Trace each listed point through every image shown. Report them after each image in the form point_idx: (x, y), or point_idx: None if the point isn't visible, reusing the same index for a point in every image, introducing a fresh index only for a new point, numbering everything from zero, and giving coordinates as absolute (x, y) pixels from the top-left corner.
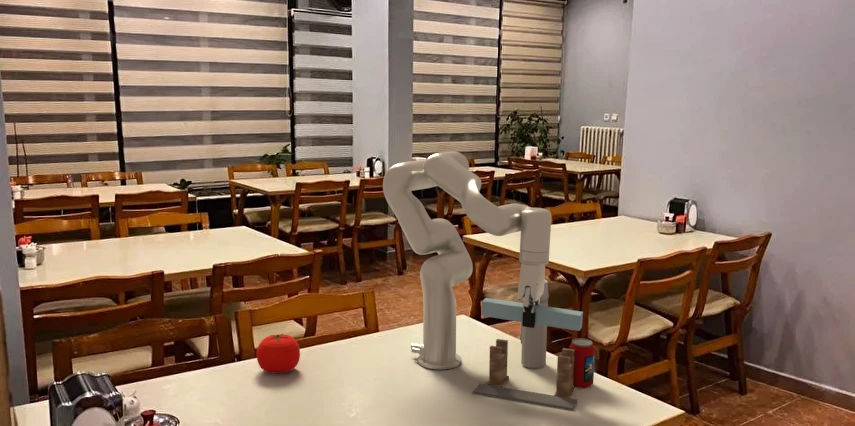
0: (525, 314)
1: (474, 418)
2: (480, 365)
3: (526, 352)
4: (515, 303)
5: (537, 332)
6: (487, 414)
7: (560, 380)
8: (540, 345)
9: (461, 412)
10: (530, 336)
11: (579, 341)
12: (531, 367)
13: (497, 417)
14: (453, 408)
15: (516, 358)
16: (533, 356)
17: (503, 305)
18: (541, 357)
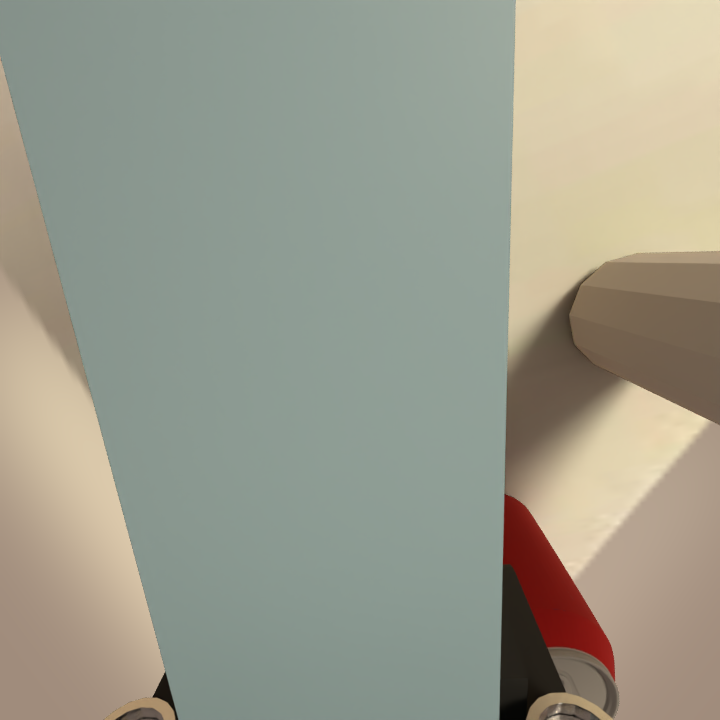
0: (157, 695)
1: (9, 280)
2: (525, 65)
3: (614, 301)
4: (366, 555)
5: (707, 399)
6: (66, 310)
7: None
8: (652, 387)
9: (19, 213)
10: (677, 343)
11: (564, 686)
12: (570, 321)
13: (68, 351)
14: (28, 166)
15: (686, 207)
16: (599, 339)
17: (90, 288)
18: (615, 372)
